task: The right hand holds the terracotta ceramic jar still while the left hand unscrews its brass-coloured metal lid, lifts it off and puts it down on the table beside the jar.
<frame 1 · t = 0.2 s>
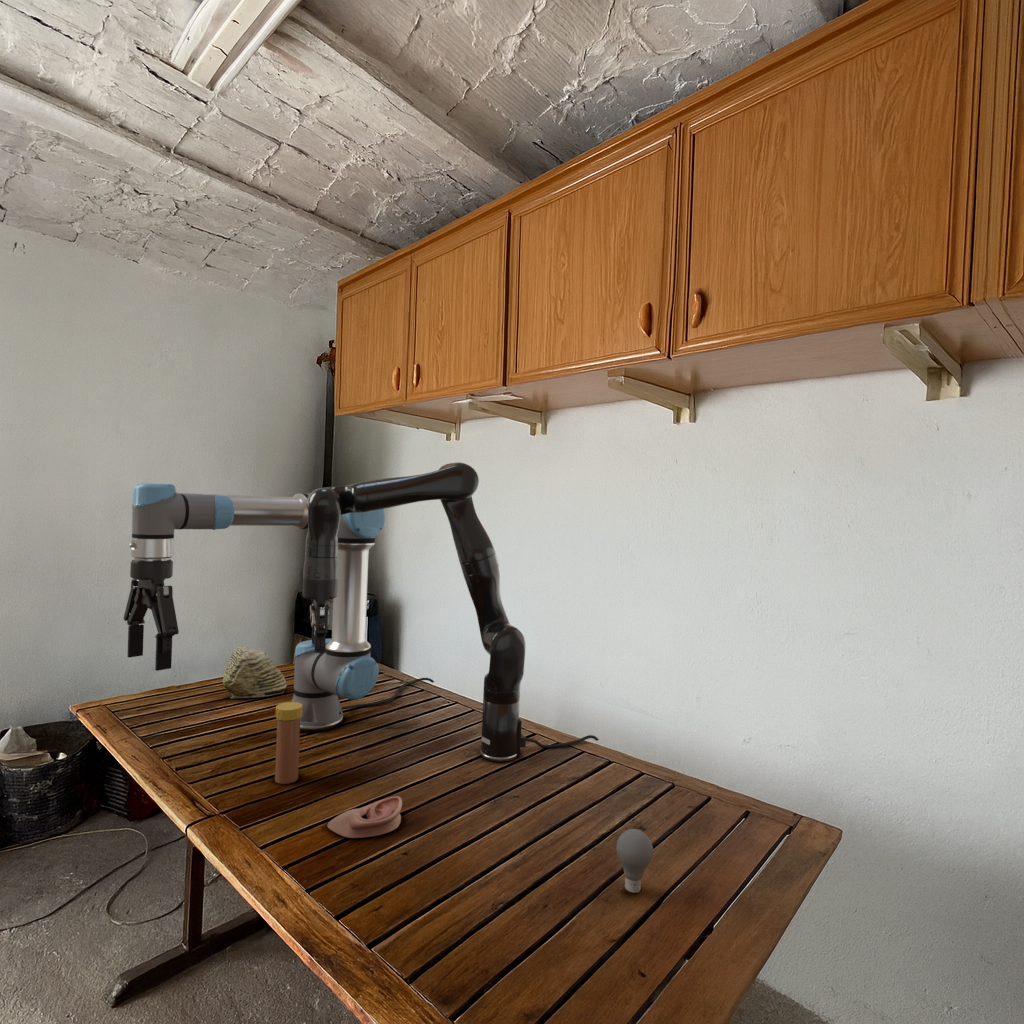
left hand: (148, 662, 129), 28 cm above the table, tool pointing down, fingers open, 13 cm apart
right hand: (318, 648, 143), 29 cm above the table, tool pointing down, fingers open, 8 cm apart
fossil: (254, 694, 198), on the table
light bulb: (632, 891, 106), on the table
anatomical model: (365, 824, 123), on the table
lid: (289, 707, 141), point 16 cm above the table, screwed on, not yet turned
jar: (286, 779, 141), on the table
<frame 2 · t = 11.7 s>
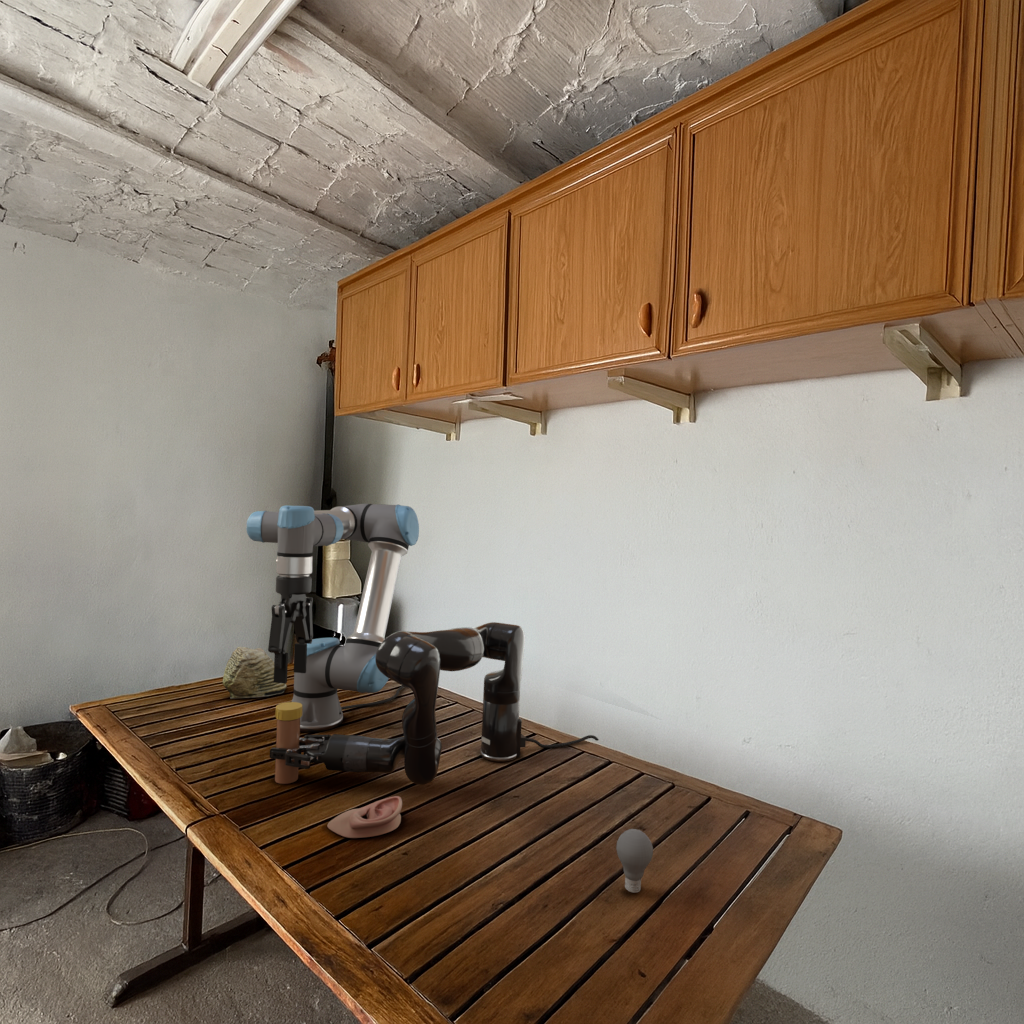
left hand: (290, 677, 141), 23 cm above the table, tool pointing down, fingers open, 8 cm apart
right hand: (276, 748, 141), 7 cm above the table, tool horizontal, fingers closed on jar, 5 cm apart
jar: (286, 779, 141), on the table, touching right hand
everything else where it was.
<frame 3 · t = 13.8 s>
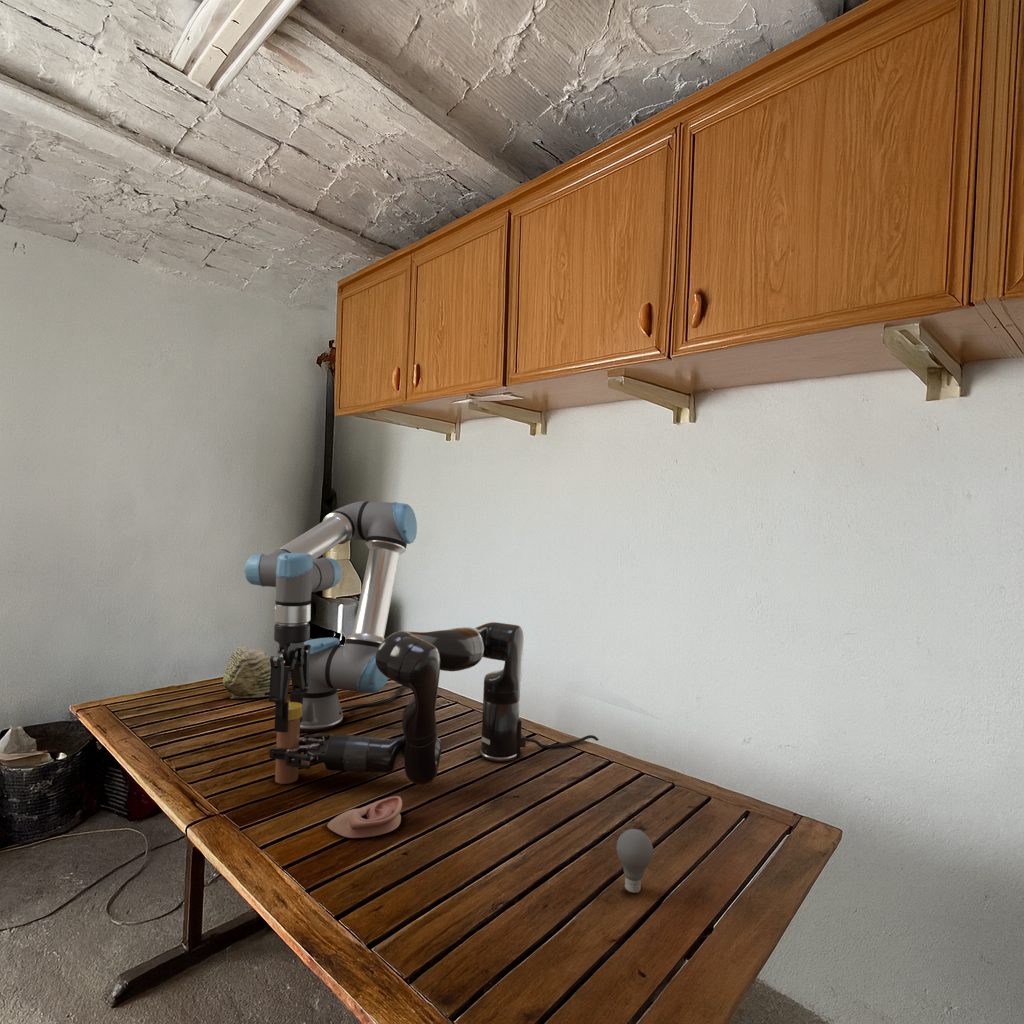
left hand: (288, 726, 141), 12 cm above the table, tool pointing down, fingers closed on lid, 5 cm apart
right hand: (276, 748, 141), 7 cm above the table, tool horizontal, fingers closed on jar, 5 cm apart
lid: (289, 707, 141), point 16 cm above the table, screwed on, not yet turned, touching left hand
jar: (286, 779, 141), on the table, touching right hand
everything else where it was.
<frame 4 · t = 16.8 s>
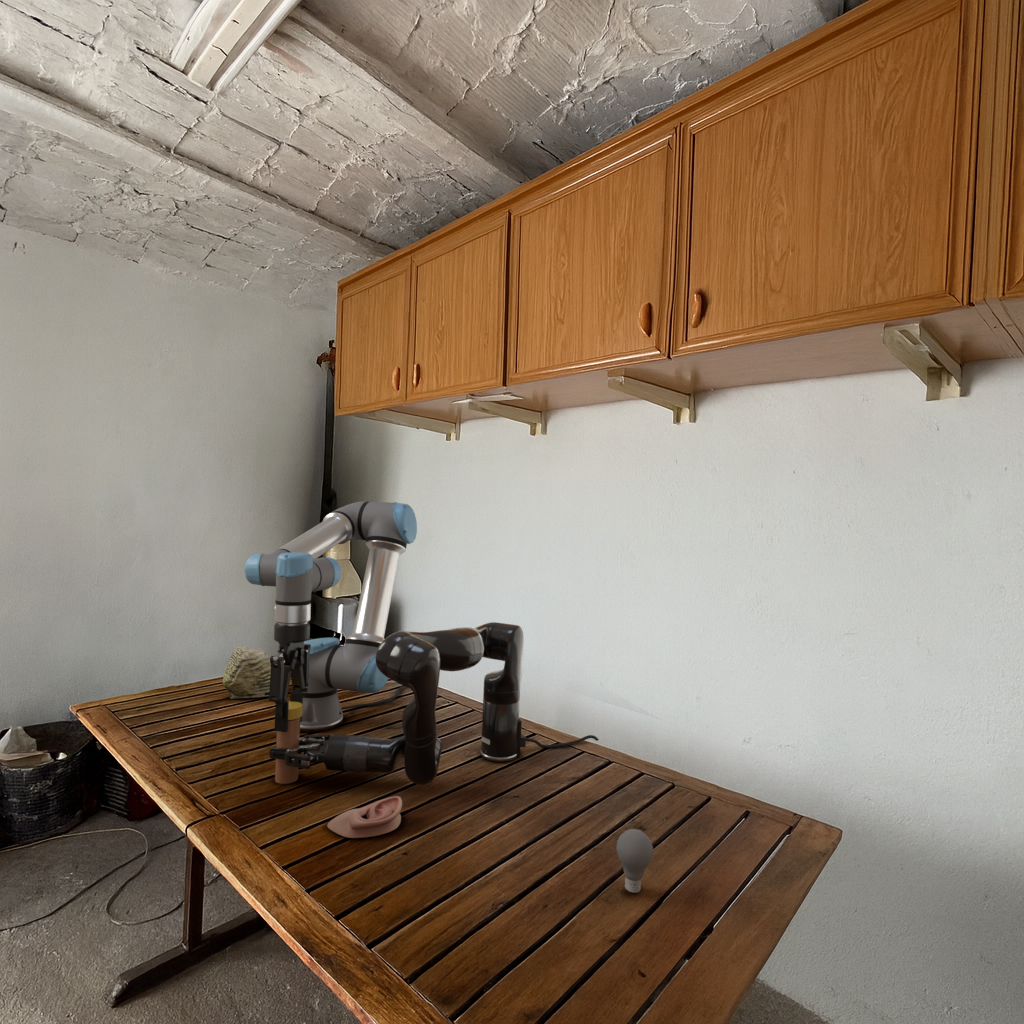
left hand: (288, 725, 141), 12 cm above the table, tool pointing down, fingers closed on lid, 5 cm apart
right hand: (276, 748, 141), 7 cm above the table, tool horizontal, fingers closed on jar, 5 cm apart
lid: (289, 707, 141), point 16 cm above the table, turned 85° so far, risen 0.1 cm, still on its thread, touching left hand
jar: (286, 779, 141), on the table, touching right hand
everything else where it was.
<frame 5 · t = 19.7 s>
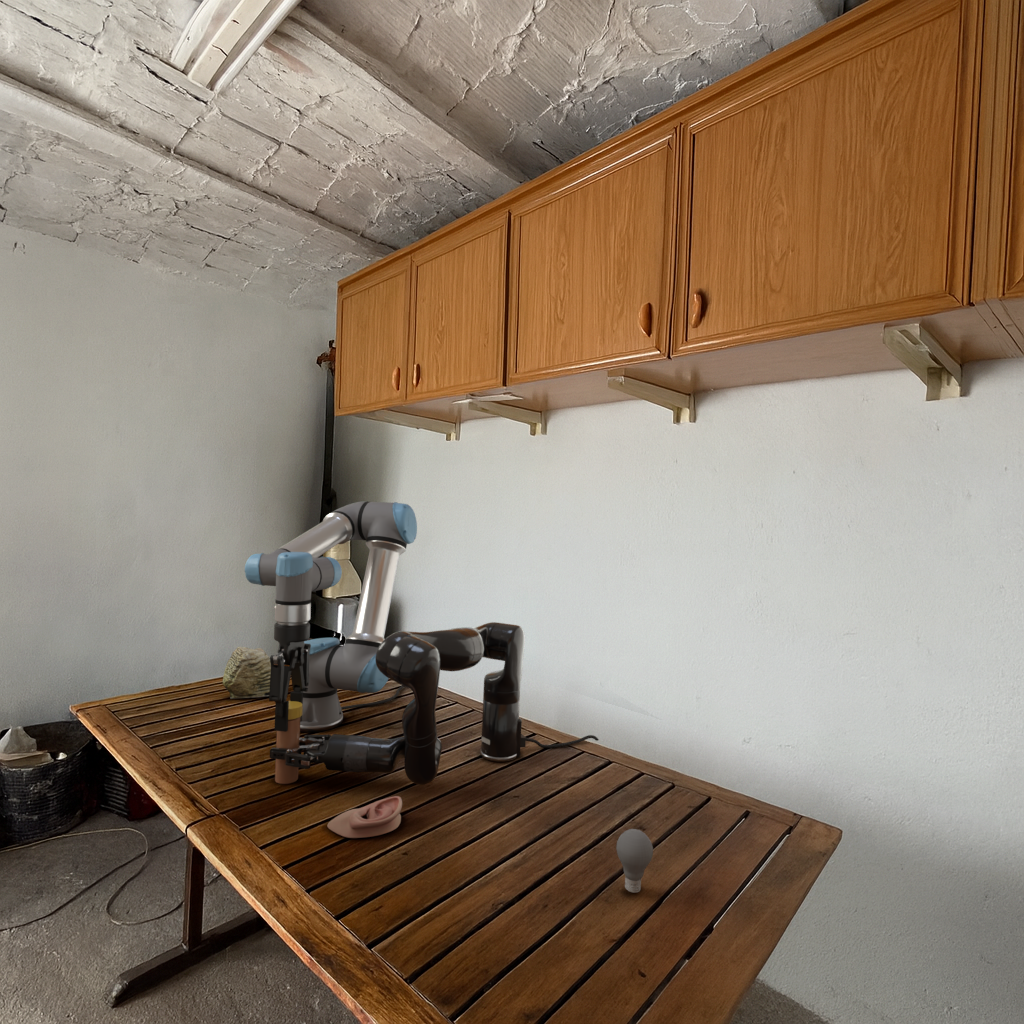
left hand: (288, 725, 141), 12 cm above the table, tool pointing down, fingers closed on lid, 5 cm apart
right hand: (276, 748, 141), 7 cm above the table, tool horizontal, fingers closed on jar, 5 cm apart
lid: (289, 706, 141), point 16 cm above the table, turned 169° so far, risen 0.2 cm, still on its thread, touching left hand
jar: (286, 779, 141), on the table, touching right hand
everything else where it was.
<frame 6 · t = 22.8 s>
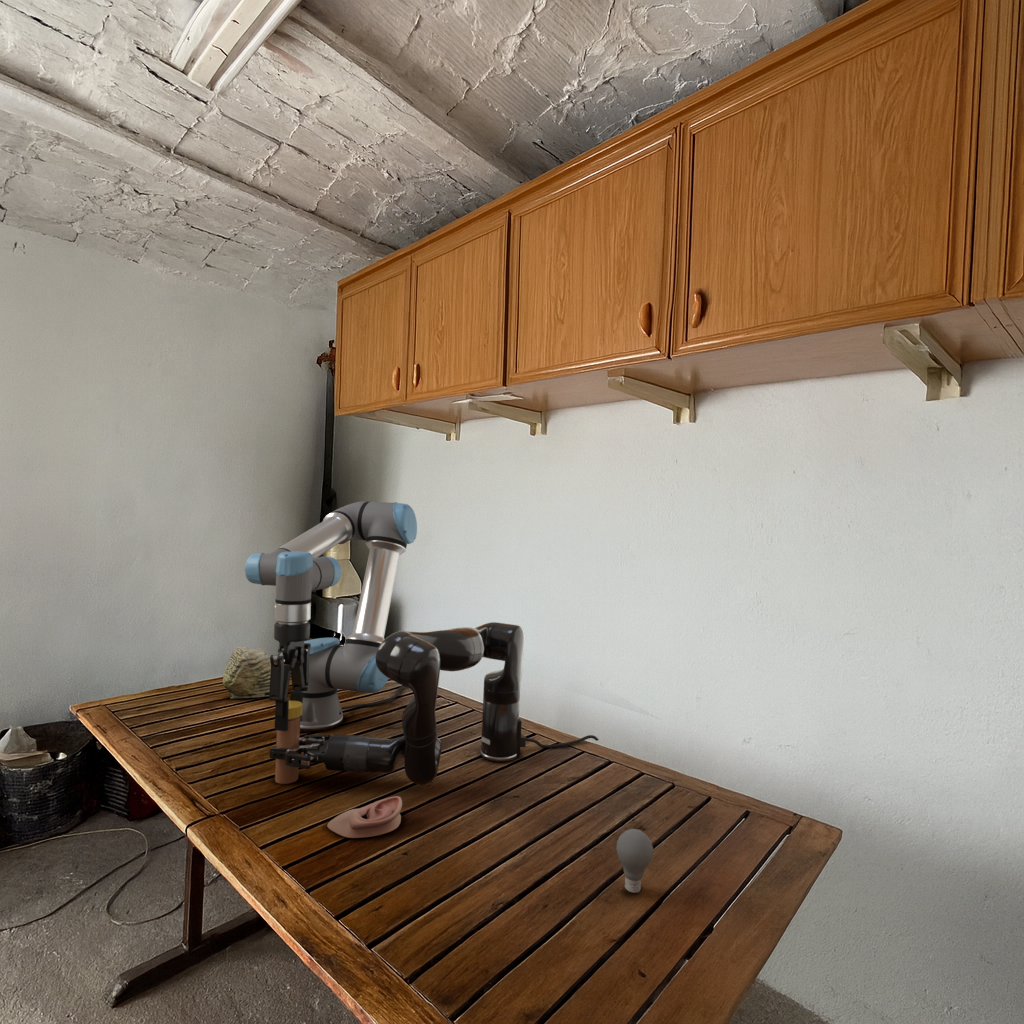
left hand: (288, 724, 141), 12 cm above the table, tool pointing down, fingers closed on lid, 5 cm apart
right hand: (276, 748, 141), 7 cm above the table, tool horizontal, fingers closed on jar, 5 cm apart
lid: (289, 706, 141), point 16 cm above the table, turned 254° so far, risen 0.3 cm, still on its thread, touching left hand
jar: (286, 779, 141), on the table, touching right hand
everything else where it was.
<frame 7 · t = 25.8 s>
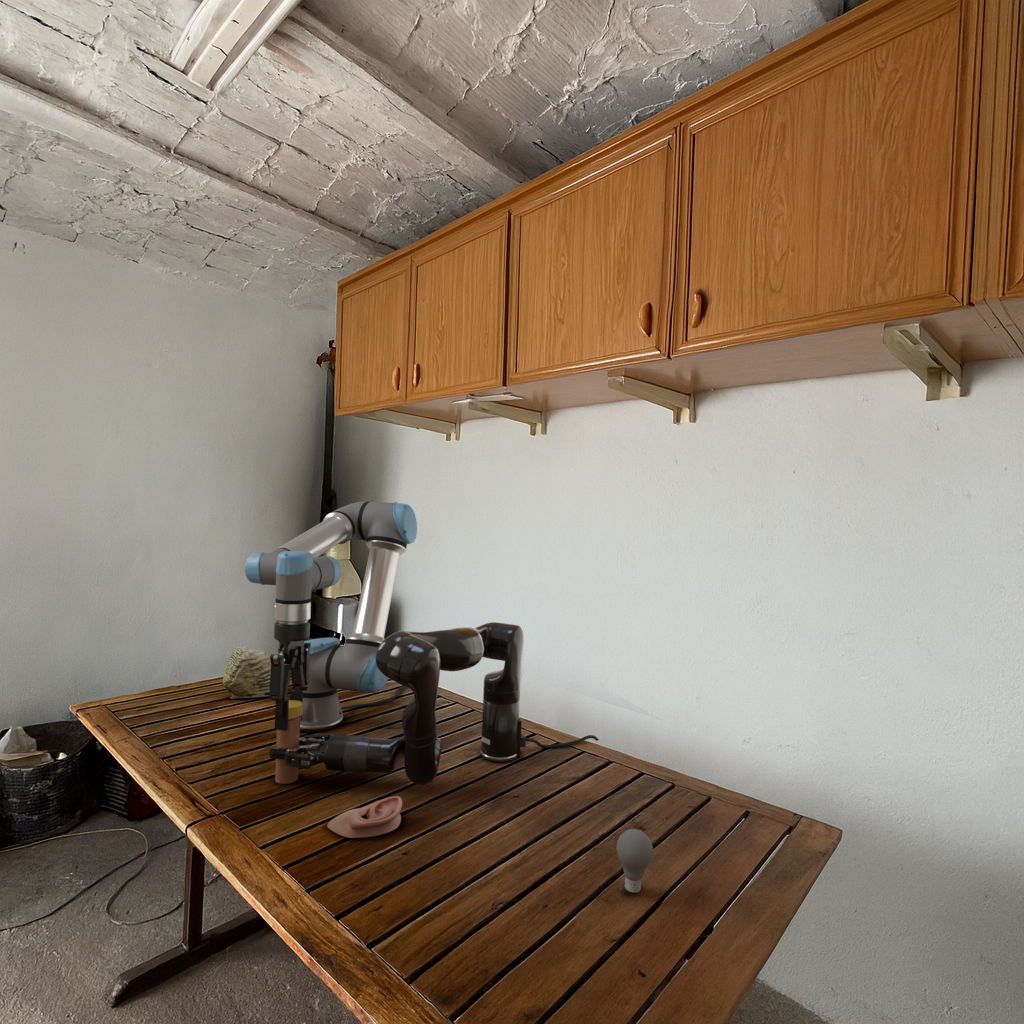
left hand: (288, 724, 141), 12 cm above the table, tool pointing down, fingers closed on lid, 5 cm apart
right hand: (276, 748, 141), 7 cm above the table, tool horizontal, fingers closed on jar, 5 cm apart
lid: (289, 705, 141), point 16 cm above the table, turned 338° so far, risen 0.4 cm, still on its thread, touching left hand
jar: (286, 779, 141), on the table, touching right hand
everything else where it was.
when the left hand's fingers open (0 cm above the table, at t = 31.8 s): lid drops 2 cm, point 2 cm above the table.
when the right hand's fingers open (7 cm above the table, at t = 32.5 s): jar stays where it is, on the table.
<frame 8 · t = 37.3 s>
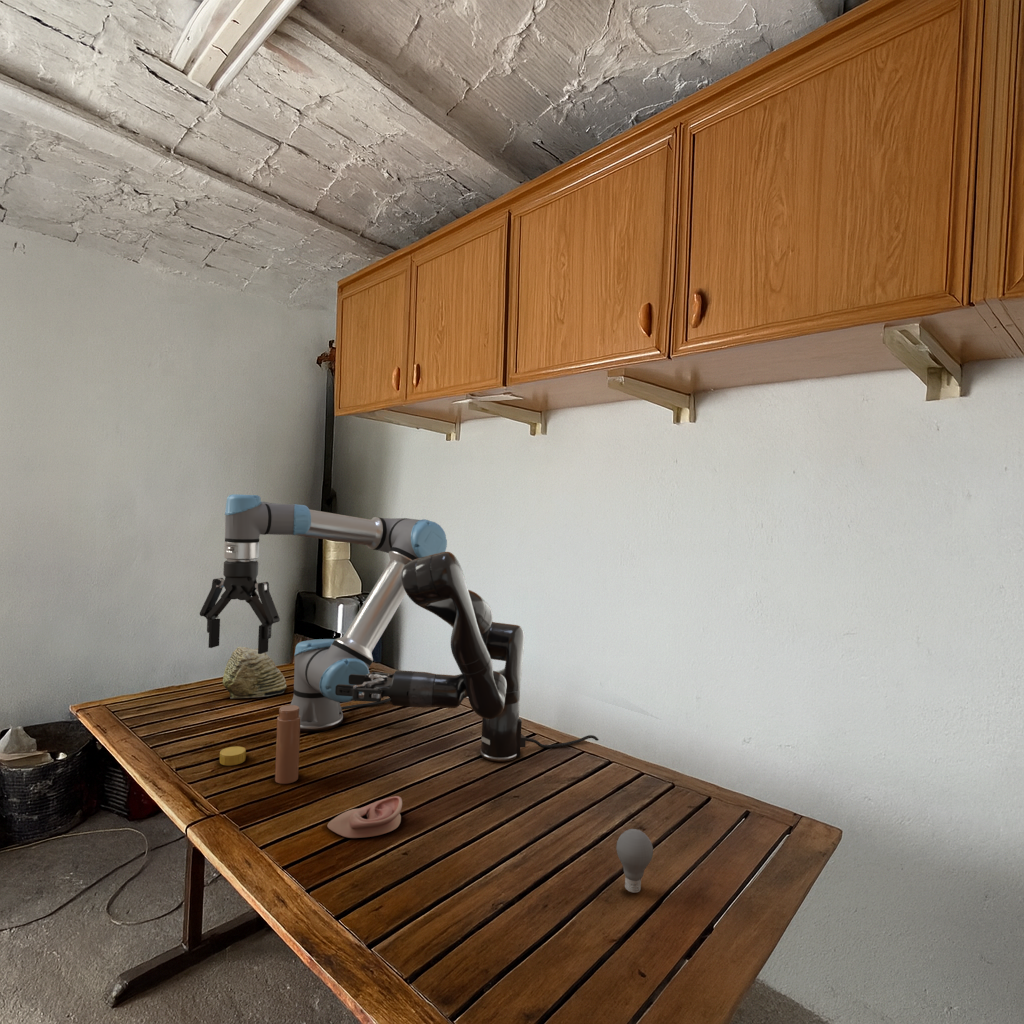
left hand: (238, 649, 149), 26 cm above the table, tool pointing down, fingers open, 13 cm apart
right hand: (342, 684, 140), 22 cm above the table, tool horizontal, fingers open, 8 cm apart
lid: (232, 752, 150), point 2 cm above the table, off its thread
jar: (286, 779, 141), on the table
everything else where it was.
at the end: lid came off its thread; lid point 2.0 cm above the table; the left hand is holding nothing; the right hand is holding nothing; jar tilted 0°; jar moved 0.0 cm from its start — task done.
